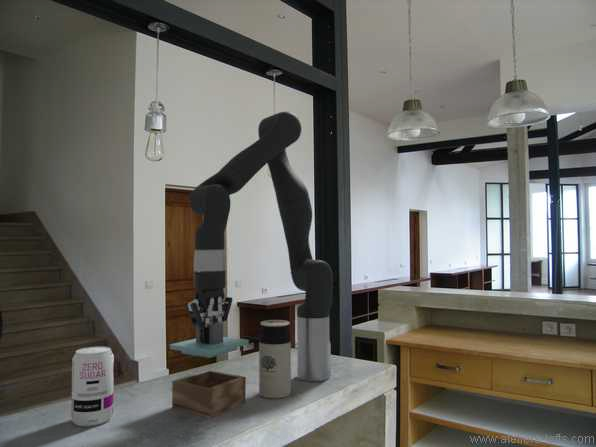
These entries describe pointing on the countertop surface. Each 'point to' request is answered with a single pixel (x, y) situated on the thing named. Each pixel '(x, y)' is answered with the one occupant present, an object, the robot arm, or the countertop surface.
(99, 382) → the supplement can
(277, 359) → the travel mug
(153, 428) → the countertop surface
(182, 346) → the lid
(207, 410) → the box
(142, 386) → the countertop surface
